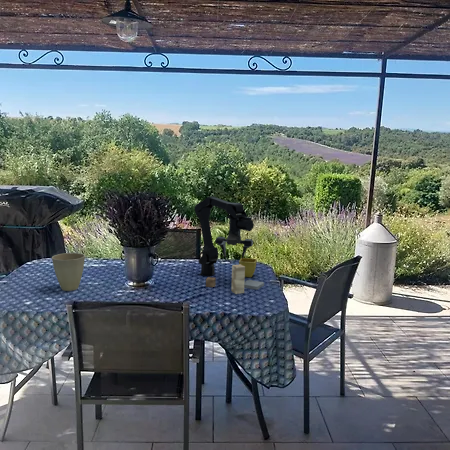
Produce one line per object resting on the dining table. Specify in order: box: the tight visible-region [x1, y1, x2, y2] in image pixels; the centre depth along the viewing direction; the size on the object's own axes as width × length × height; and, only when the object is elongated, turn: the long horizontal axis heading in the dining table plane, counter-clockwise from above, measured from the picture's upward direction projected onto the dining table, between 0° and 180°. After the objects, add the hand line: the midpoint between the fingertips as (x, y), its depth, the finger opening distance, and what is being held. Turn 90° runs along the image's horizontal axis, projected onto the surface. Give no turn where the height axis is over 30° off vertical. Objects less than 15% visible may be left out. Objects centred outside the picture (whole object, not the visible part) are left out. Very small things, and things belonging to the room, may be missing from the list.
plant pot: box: [51, 252, 86, 292], centre depth 215 cm, size 15×15×16 cm
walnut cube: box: [205, 276, 217, 288], centre depth 227 cm, size 4×4×4 cm
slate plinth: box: [244, 279, 265, 290], centre depth 228 cm, size 9×9×2 cm
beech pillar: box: [231, 264, 246, 295], centre depth 217 cm, size 4×4×13 cm
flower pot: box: [238, 257, 258, 278], centre depth 246 cm, size 9×9×9 cm
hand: (233, 257), depth 232 cm, fingers open, 9 cm apart
